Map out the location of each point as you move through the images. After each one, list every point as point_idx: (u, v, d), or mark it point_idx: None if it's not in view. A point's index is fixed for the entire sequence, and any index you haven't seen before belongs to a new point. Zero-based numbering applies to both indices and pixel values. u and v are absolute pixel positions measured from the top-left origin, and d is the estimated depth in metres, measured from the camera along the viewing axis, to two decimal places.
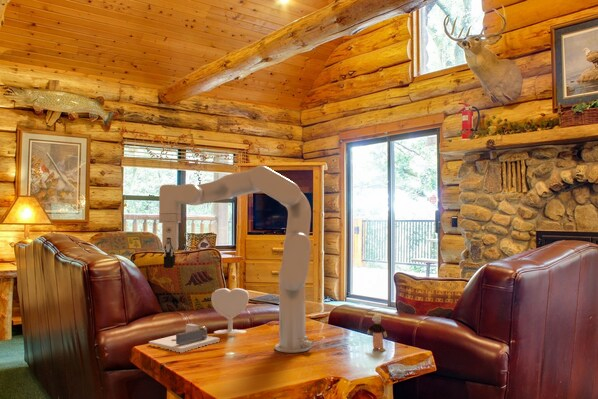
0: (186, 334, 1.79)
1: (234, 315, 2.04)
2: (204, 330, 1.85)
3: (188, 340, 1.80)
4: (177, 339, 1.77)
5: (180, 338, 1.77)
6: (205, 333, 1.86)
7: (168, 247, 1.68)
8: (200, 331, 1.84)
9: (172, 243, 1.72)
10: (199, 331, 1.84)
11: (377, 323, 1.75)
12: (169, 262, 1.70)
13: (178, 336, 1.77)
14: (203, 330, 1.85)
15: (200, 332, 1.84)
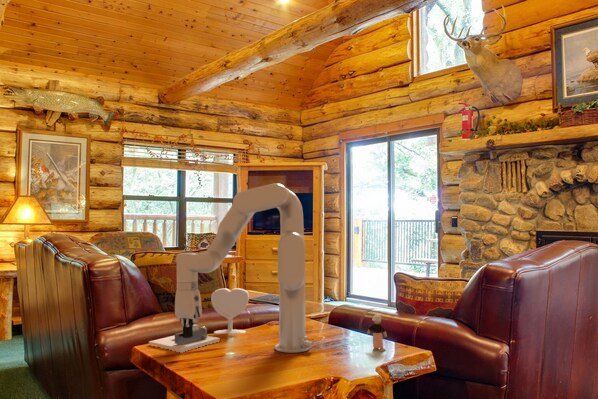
0: None
1: (234, 315, 2.04)
2: (204, 330, 1.85)
3: (187, 340, 1.80)
4: (175, 339, 1.78)
5: (179, 338, 1.77)
6: (205, 333, 1.86)
7: None
8: (199, 331, 1.84)
9: (199, 311, 1.77)
10: (198, 331, 1.84)
11: (377, 323, 1.75)
12: (191, 332, 1.78)
13: (176, 336, 1.77)
14: (203, 330, 1.85)
15: (200, 332, 1.84)
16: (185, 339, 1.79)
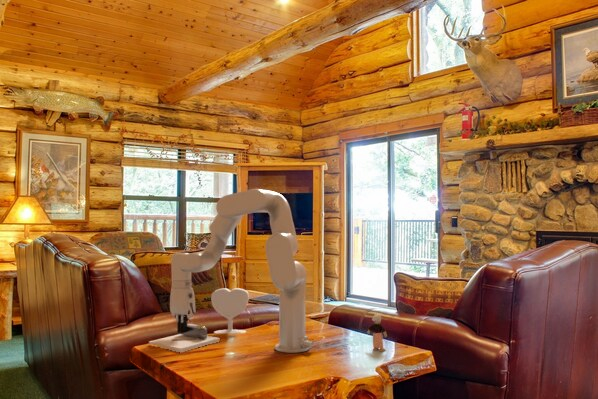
0: None
1: (234, 315, 2.04)
2: (198, 330, 1.86)
3: (186, 333, 1.91)
4: None
5: None
6: (199, 333, 1.85)
7: (190, 317, 1.88)
8: (196, 329, 1.87)
9: (193, 307, 1.88)
10: (196, 329, 1.87)
11: (377, 323, 1.75)
12: (186, 327, 1.89)
13: None
14: (198, 329, 1.86)
15: (197, 330, 1.87)
16: (185, 332, 1.91)
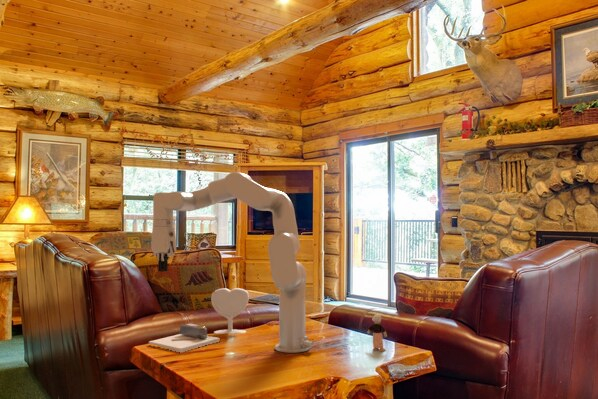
0: (185, 327, 1.91)
1: (234, 315, 2.04)
2: (198, 330, 1.86)
3: (186, 333, 1.91)
4: None
5: (180, 328, 1.93)
6: (199, 333, 1.85)
7: (170, 256, 1.89)
8: (196, 329, 1.87)
9: (174, 246, 1.89)
10: (196, 329, 1.87)
11: (377, 323, 1.75)
12: (166, 266, 1.90)
13: None
14: (198, 329, 1.86)
15: (197, 330, 1.87)
16: (185, 332, 1.91)
